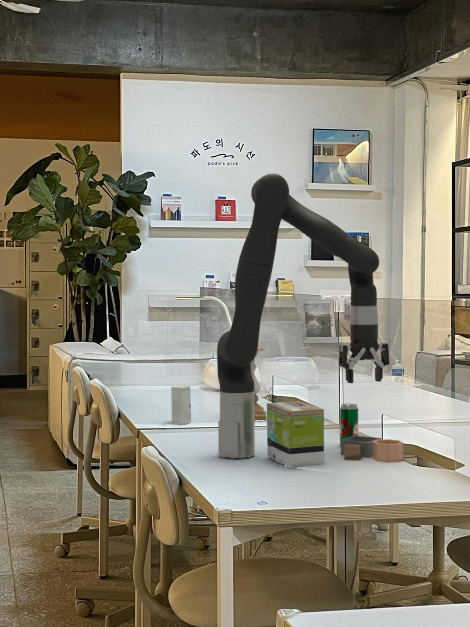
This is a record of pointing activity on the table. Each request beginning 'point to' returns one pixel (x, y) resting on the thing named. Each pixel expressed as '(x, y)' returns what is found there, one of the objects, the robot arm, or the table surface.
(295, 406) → the tea box
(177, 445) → the table surface
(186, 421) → the skincare box
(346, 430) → the soda can
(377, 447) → the bowl
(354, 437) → the bin
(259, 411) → the candle holder
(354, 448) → the walnut block
